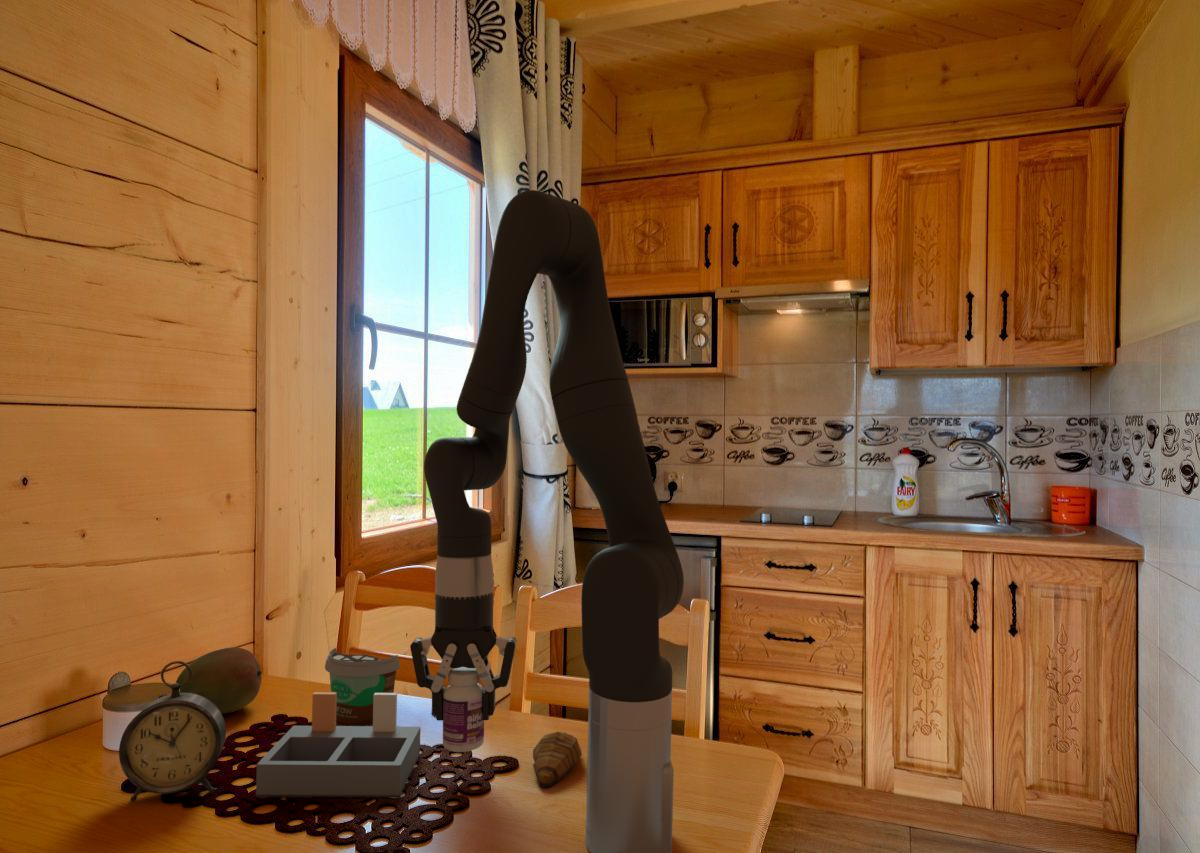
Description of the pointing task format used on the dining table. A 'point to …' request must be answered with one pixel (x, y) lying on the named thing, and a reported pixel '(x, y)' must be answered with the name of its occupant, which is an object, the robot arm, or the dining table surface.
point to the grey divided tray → (341, 755)
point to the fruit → (224, 678)
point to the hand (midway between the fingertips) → (463, 717)
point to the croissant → (555, 757)
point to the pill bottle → (463, 711)
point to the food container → (359, 684)
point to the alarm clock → (172, 742)
